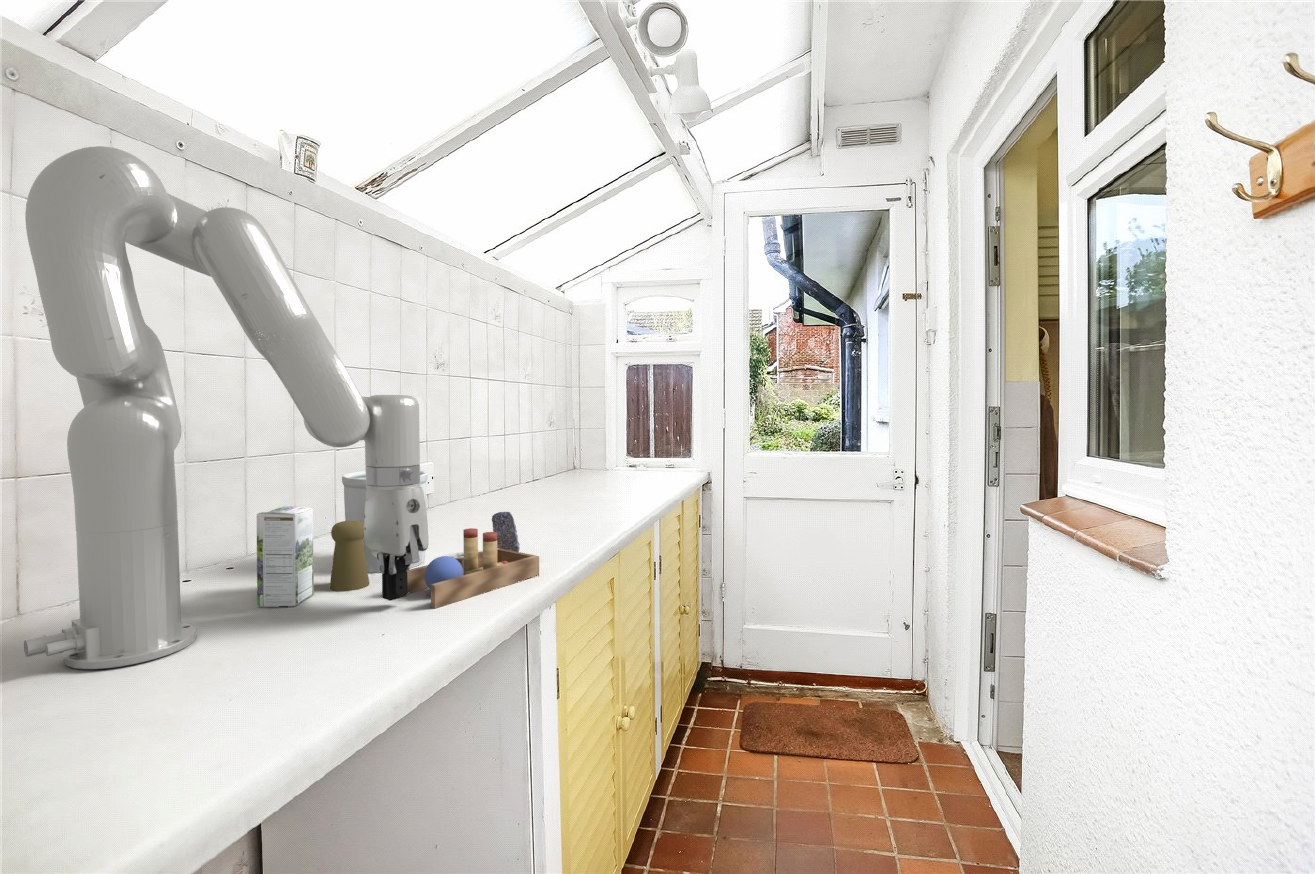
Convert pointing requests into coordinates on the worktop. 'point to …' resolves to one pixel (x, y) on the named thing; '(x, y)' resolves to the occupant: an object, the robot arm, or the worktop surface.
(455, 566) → the ball
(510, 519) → the rock
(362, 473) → the utensil holder
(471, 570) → the pin front
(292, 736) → the worktop surface
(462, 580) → the lane
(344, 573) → the cork
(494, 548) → the pin
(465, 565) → the pin
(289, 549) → the syrup box
